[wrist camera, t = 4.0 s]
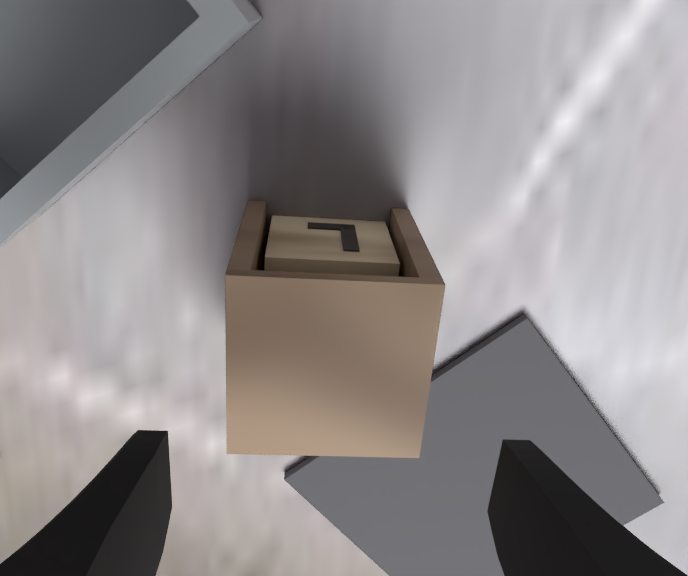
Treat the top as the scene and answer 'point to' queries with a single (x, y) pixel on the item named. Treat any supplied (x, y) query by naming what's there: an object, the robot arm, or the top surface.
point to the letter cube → (330, 247)
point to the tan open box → (329, 351)
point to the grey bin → (93, 84)
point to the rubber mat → (473, 461)
